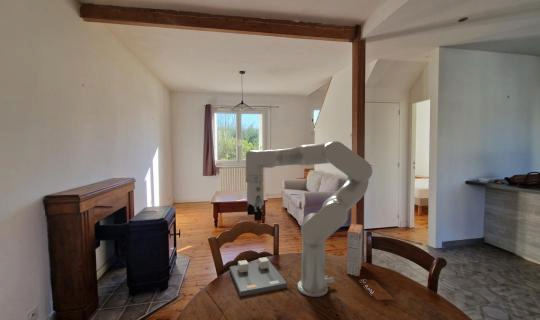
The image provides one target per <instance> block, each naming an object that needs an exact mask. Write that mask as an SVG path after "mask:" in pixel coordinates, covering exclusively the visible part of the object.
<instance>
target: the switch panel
mask: <svg viewBox="0 0 540 320" xmlns="http://www.w3.org/2000/svg"><path fill="white" fill-rule="evenodd" d="M248 264H249V268H248V271H247V272H239V270H238V264H237V265H231V266H229V272H230V274H231V277H232V279H233V282H234V284H235V286H236V289H237V291H238V293H239V294H238V295H239V297H246V296H250V295H255V294H256V295H257V294H260V293H265V292H271V291H276V290H281V289H286V288H288V283H287V281H286V280H285V278H283V276H282V275H281V274H280V272H279V271H278V270H277V268H276V267H275V266H274V265H273V264H272V262H271V261H270V260H269V268H266V269H260V267H259V266H258V261H257V262H252V263H248Z"/></svg>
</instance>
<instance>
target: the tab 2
mask: <svg viewBox="0 0 540 320" xmlns="http://www.w3.org/2000/svg"><path fill="white" fill-rule="evenodd" d="M269 261H270V260H269V259H268V258H267V256H265V257H259V258H258V260H257V262H258V266H259V267H260V269H266V268H269Z"/></svg>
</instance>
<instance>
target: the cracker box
mask: <svg viewBox="0 0 540 320" xmlns="http://www.w3.org/2000/svg"><path fill="white" fill-rule="evenodd" d="M363 227H364V226H363V225H362V224H358V223H351V224H350V226H349V228H348V230H347V233H346V234H347V237H346V238H347V239H346V241H347V242H346V243H347V244H346V245H347V247H346V248H347V249H346V253H347V254H346V275H347V274H351V275H350V276H352V275H355V276H354V277H356V276H359V277H360V274H361V271H360V270H362V264H363V233H364V232H363V230H364V228H363Z"/></svg>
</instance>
